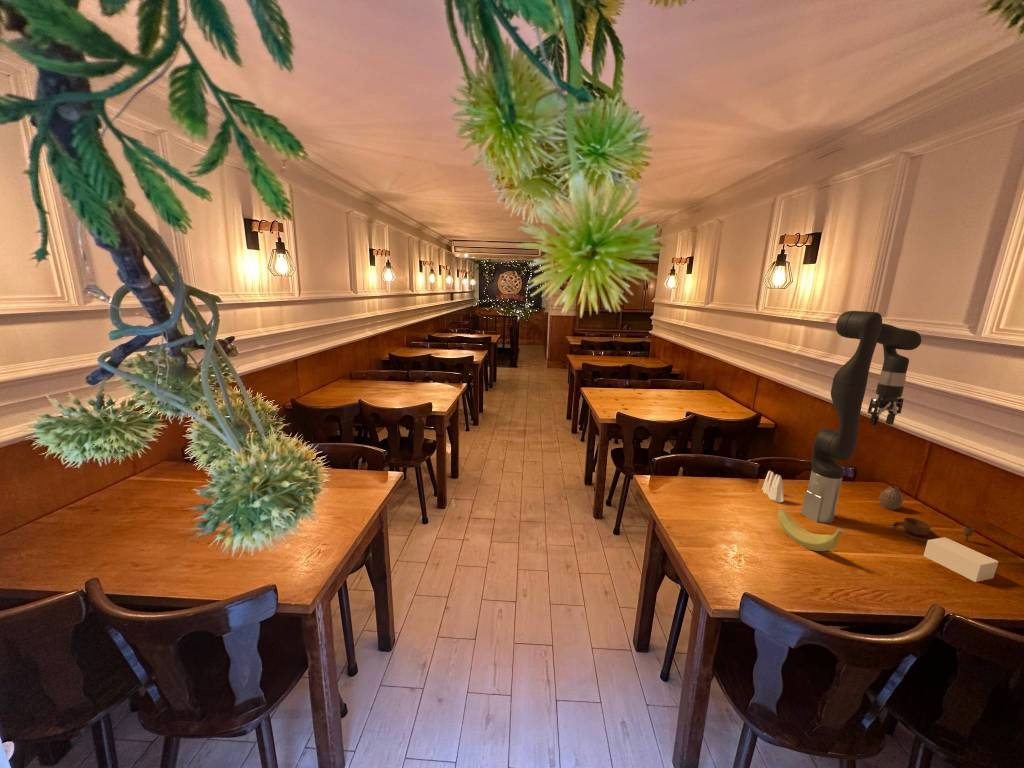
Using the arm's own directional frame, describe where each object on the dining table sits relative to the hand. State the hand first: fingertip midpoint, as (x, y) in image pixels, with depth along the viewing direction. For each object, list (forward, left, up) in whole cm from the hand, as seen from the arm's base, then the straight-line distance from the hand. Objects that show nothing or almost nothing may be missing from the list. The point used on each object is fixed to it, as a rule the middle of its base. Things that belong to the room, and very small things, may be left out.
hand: (881, 424), depth 166 cm
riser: (-15, -38, -33) cm, 53 cm away
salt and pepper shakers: (-34, +12, -33) cm, 49 cm away
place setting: (-3, -25, -34) cm, 42 cm away
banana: (-53, -10, -32) cm, 62 cm away
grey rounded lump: (+7, -5, -33) cm, 34 cm away
